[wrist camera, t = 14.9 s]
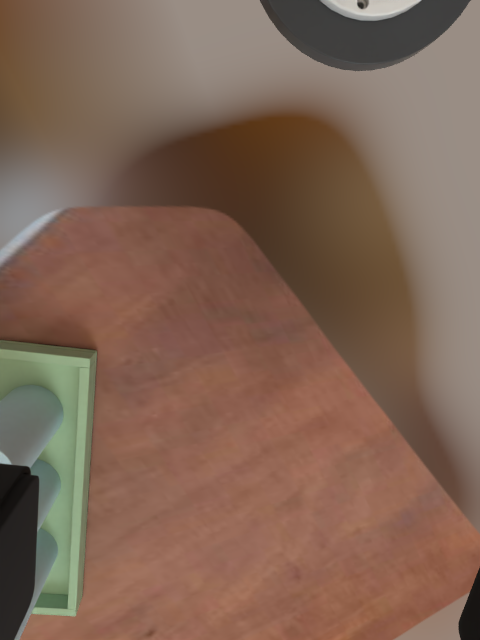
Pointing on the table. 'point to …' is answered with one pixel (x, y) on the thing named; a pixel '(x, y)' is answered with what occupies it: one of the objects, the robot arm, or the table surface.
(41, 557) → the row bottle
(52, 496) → the row bottle middle
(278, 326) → the table surface
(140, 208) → the table surface
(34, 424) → the loose bottle
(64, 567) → the tray
